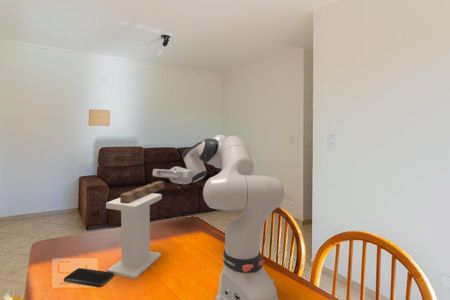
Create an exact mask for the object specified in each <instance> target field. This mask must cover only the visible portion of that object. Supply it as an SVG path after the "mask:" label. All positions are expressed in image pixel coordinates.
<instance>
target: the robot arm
mask: <svg viewBox="0 0 450 300" xmlns="http://www.w3.org/2000/svg"><path fill="white" fill-rule="evenodd" d="M181 158H182V159H183V161H184V163H185V167H186V168H185V167H181V166H173V167H171V168H170V169H160V168H153V170H152V177H158V178H168V179H169V180H170V182H172V183H173V184H180V185H188V184H190V183H197V182H199V181H202V180H203V179H204V178H205V177H206V176H207V169H206V166H205V164H207V165H211V166H213V167H216V168H219V169H221V171H220V172H218V173H217V174H215V175H214V176H211V177H209V178H208V179H207V180H206V181H205V184H204V186H203V190H202V196H203V197H202V198H203V200H204V203H205V204H206V205H207V206H208V208H210V209H214V210H220V211H243V212H242V213H241V215H239V216H238V217H237V218H235V219H233V220H231V221H230V222H229V223H228V225H227V226H226V227H225V235H224V237H225V238H224V249H223V253H222V259H223V261H222V263H223V267H222V269H221V271H220V272H221V273H220V276H219V283H218V284H219V285H218V293H217V294H216V296H215V299H214V300H280V299H279V297H278V290H277V287H276V285H275V280H274V279H273V278H272V277H270V276H269V275H268V272H267V271H266V269H265V268H264V264H266V263H265V259H262V254H261V252H260V243H261V241H260V240H261V233H262V229H263V227H264V223H265V222H266V221H267V219H268V217H269V216H270V214H272V212H274V211H275V210H276V209H277V208H279V207H281V204H282V203H283V201H284V199H285V188H284V185H283V183H282V182H281V181H280V179H279V178H277V177H273V176H269V175H264V174H263V175H262V174H261V175H256V174H255V175H253V172H254V167H255V166H254V163H253V162H254V161H253V159H252V156H251V152H250V150H249V147H248V145H247V144H246V142H245V141H244V140H243V138H242V137H240V136H237V135H229V136H226V135H224V134H217V135H215V136H213V137H212V138H206V139H203V140H202V141H199V142H196V143H195V144H194V145H193V146H191V147H190V148H188V149H185V150H184V151H183V152H182V154H181ZM204 163H205V164H204Z"/></svg>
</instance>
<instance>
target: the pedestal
mask: <svg viewBox="0 0 450 300" xmlns="http://www.w3.org/2000/svg"><path fill="white" fill-rule="evenodd" d="M162 199H163V195H162V193H156V192H154V193H151V194H149V195H147V196H144V197H142V198H140V199H137V200H135V201H133V202H130V203H128V204H127V203H120V197H118V198H115V199H112V200H110V201H107V202H106V203H105V209H108V210H109V209H110V210H114V211H115V210H116V211H120V219H121V221H120V224H121V225H120V227H121V228H120V229H121V231H120V232H121V235H120V236H121V241H120V243H121V245H120V247H121V251H120V253H121V258H120V259H121V260H120V259H119V261H117V262H116V263H114V264H113V265H112V266H110V267H109V268H108V269H106V272H111V273H114V275H116V276H121V277H126V278H129V279H133V280H134V279H137V278H138V277H139V276H140V275H142V273H144V272H145V271H146V270H148V268H149V267H151V266H152V264H154V263H155V262H156V261H157V260H158V259H159V258H160V257H162V253H160V252H155V251H150V241H151V240H150V235H151V234H150V218H151V217H150V213H151V211H150V210H151V209H150V208H151V207H150V205H153V204H154V203H157V202H158V201H161V200H162Z"/></svg>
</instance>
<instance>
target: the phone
mask: <svg viewBox="0 0 450 300" xmlns="http://www.w3.org/2000/svg"><path fill="white" fill-rule="evenodd" d="M114 276H115V274H114V273H111V272H107V271H105V270H104V271H103V270H96V269H90V268H83V267H79V268H76V269H75V270H73V271H72V272H70V273H69V274H68V275H66V276H65V277H64V278H63V282H64V283H71V284H76V285H83V286H88V287H89V286H90V287H96V288H102V287H104V286H105V285H106V284H107V283H108V282H109V281H111V279H113V278H114Z"/></svg>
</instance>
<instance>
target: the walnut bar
mask: <svg viewBox="0 0 450 300" xmlns="http://www.w3.org/2000/svg"><path fill="white" fill-rule="evenodd" d="M162 189H165V181H163V180H157V181H153V182H152V183H148V184H146V185H144V186H140V187H137V188H134V189H132V190H129V191H126V192H124V193H121V194H120V196H119V198H120V203H127V204H128V203H130V202H133V201H135V200H137V199H140V198H142V197H144V196H147V195H149V194H151V193H156V192H158V191H160V190H162Z"/></svg>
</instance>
